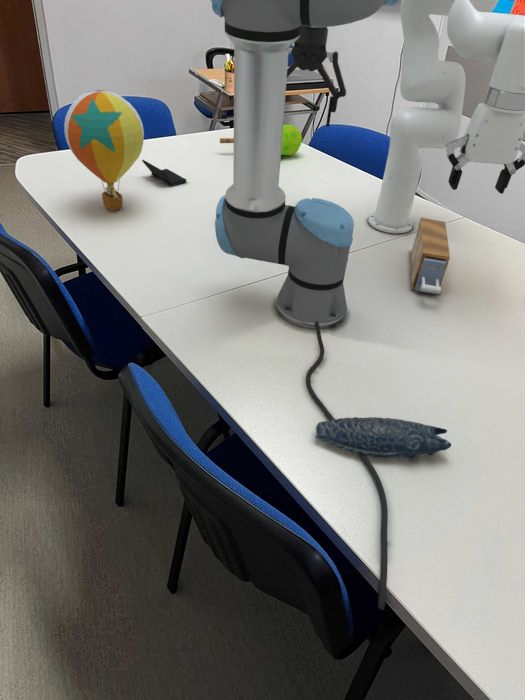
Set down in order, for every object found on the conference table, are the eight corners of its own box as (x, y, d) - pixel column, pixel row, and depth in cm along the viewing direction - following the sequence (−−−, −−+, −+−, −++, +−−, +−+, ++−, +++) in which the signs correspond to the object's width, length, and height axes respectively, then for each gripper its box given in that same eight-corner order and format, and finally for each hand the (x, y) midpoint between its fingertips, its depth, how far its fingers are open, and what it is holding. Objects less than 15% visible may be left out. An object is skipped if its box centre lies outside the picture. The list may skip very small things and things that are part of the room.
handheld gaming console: (190, 175, 164) (173, 153, 156) (179, 193, 163) (161, 172, 155) (166, 170, 170) (147, 148, 162) (155, 188, 169) (136, 167, 161)
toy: (64, 203, 145) (44, 85, 127) (127, 189, 156) (117, 79, 137) (97, 229, 134) (80, 105, 116) (162, 213, 145) (156, 96, 126)
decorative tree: (217, 118, 187) (297, 118, 193) (217, 148, 194) (295, 147, 199) (223, 133, 174) (309, 132, 179) (223, 164, 180) (306, 163, 185)
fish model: (449, 471, 80) (458, 449, 77) (314, 454, 81) (318, 432, 78) (442, 439, 86) (450, 418, 83) (315, 423, 87) (319, 401, 84)
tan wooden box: (437, 294, 122) (450, 256, 116) (411, 289, 123) (422, 252, 117) (434, 256, 137) (445, 221, 131) (411, 252, 138) (420, 217, 132)
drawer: (437, 306, 116) (448, 275, 111) (415, 302, 117) (425, 271, 112) (433, 257, 134) (442, 229, 129) (414, 254, 135) (422, 226, 130)
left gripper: (366, 28, 121) (350, 124, 134) (261, 17, 123) (255, 112, 136) (366, 32, 115) (349, 132, 129) (256, 20, 117) (250, 120, 130)
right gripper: (543, 98, 99) (510, 185, 110) (455, 91, 99) (430, 179, 110) (560, 109, 94) (523, 199, 104) (466, 101, 93) (438, 193, 104)
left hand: (301, 122), depth 132 cm, fingers open, 13 cm apart
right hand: (475, 189), depth 107 cm, fingers open, 9 cm apart
